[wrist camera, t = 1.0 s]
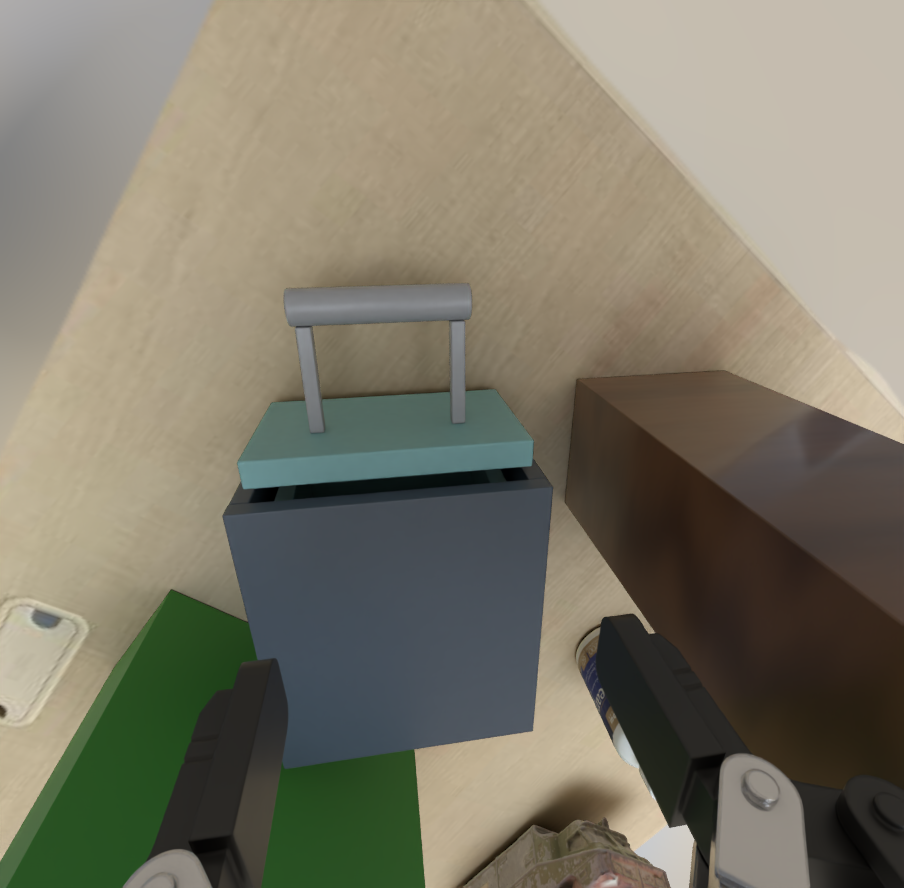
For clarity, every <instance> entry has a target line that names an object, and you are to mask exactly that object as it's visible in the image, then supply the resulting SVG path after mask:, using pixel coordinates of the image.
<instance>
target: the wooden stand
mask: <svg viewBox="0 0 904 888" xmlns="http://www.w3.org/2000/svg"><path fill="white" fill-rule="evenodd" d="M565 503H566V505H567V506H568V508H569V509H570V510H571V512H572V513H573V515H574V516H575V518H576V519H577V521H578V522H579V523H580V525H581V526H582V528H583V529H584V531H585V532H586V533H587V535H588V536H589V538H590V539H591V541H592V542H593V544H594V545H595V546H596V548H597V549H598V551H599V552H600V554H601V555H602V557H603V558H604V559H605V561H606V562H607V564H608V565H609V567H610V568H611V569H612V571H613V572H614V574H615V575H616V577H617V578H618V580H619V581H620V582H621V584H622V585H623V587H624V588H625V590H626V591H627V593H628V594H629V595H630V597H631V598H632V600H633V601H634V603H635V604H636V605H637V607H638V608H639V610H640V611H641V613H642V614H643V616H644V617H645V618H646V620H647V621H648V623H649V624H650V626H651V627H652V628H653V630H654V631H655V633H659V634H660V635H662V636H663V637H664V638H665V639H667V640H668V641H669V642H670V643H672V644H673V645H674V646H675V647H677V648H678V650H679V651H680V653H681V654H682V655H683V657H684V658H685V660H686V661H687V662H688V664H689V665H690V667H691V670H692V671H694V672H695V674H696V675H697V677H698V678H699V680H700V681H701V682H702V686H703V687H705V688H706V690H707V691H708V692H709V694H710V695H711V697H712V698H713V700H714V701H715V702H716V704H717V705H718V707H719V708H720V710H721V711H722V712H723V714H724V715H725V717H726V718H727V720H728V721H729V722H730V724H731V725H732V727H733V728H734V730H735V731H736V732H737V734H738V735H739V737H740V738H741V740H742V741H743V742H744V744H745V745H746V747H747V748H748V749H749V750H750V752H751V753H752V754H753V755H754V756H757V757H760V758H762V759H764V760H766V761H768V762H770V763H771V764H773V765H774V766H776V767H777V768H778V769H779V770H781V771H782V772H783V773H784V774H785V775H786V776H787V777H788V778H789V779H792V780H795V781H799V782H804V783H809V784H815V785H820V786H826V787H831V788H836V789H842V790H843V788H844V787H845V785H846V783H847V781H848V780H849V779H850V778H852V777H854V776H857V775H870V776H875V777H878V778H881V779H884V780H886V781H889V782H891V783H893V784H894V785H896V786H898V787H900V788H901V789H903V790H904V444H902V443H900V442H897V441H895V440H892V439H890V438H887V437H885V436H883V435H880V434H878V433H875V432H873V431H870V430H868V429H866V428H863V427H861V426H858V425H856V424H853V423H851V422H849V421H846V420H844V419H841V418H839V417H836V416H834V415H832V414H829V413H827V412H824V411H822V410H819V409H817V408H815V407H812V406H810V405H807V404H805V403H802V402H800V401H798V400H795V399H793V398H790V397H788V396H785V395H783V394H781V393H778V392H776V391H773V390H771V389H768V388H766V387H764V386H761V385H759V384H756V383H754V382H751V381H749V380H747V379H744V378H742V377H739V376H737V375H734V374H732V373H730V372H727V371H708V372H691V373H674V374H656V375H639V376H622V377H605V378H587V379H577V384H576V395H575V405H574V415H573V426H572V436H571V447H570V457H569V468H568V478H567V488H566V499H565Z"/></svg>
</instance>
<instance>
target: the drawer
mask: <svg viewBox="0 0 904 888" xmlns="http://www.w3.org/2000/svg"><path fill="white" fill-rule="evenodd" d="M284 309H285V315H286V319H287V322H288V324H289V326H291V327H296V328H295V333H296V340H297V347H298V353H299V360H300V367H301V374H302V381H303V388H304V395H305V401H288V402H272V403H271V404H270V406H269V408H268V409H267V411H266V413H265V415H264V417H263V418H262V420H261V422H260V424H259V425H258V427H257V429H256V431H255V432H254V434H253V436H252V438H251V439H250V441H249V443H248V445H247V446H246V448H245V450H244V452H243V453H242V455H241V457H240V459H239V460H238V462H237V465H238V469H239V474H240V478H241V483H242V487H243V489H256V488H268V487H279V489H278V492H277V495H276V497H275V500H274V501H284V500H296V499H307V498H319V497H331V496H343V495H355V494H367V493H378V492H390V491H402V490H414V489H426V488H437V487H449V486H461V485H473V484H485V483H496V482H507V481H506V479H505V477H504V475H503V473H502V472H501V470H500V469H503V468H515V467H527V466H532V463H533V446H534V441H533V439H532V438H531V436H530V435H529V434H528V432H527V431H526V430H525V428H524V427H523V426H522V424H521V423H520V422H519V420H518V419H517V418H516V416H515V415H514V414H513V412H512V411H511V410H510V408H509V407H508V406H507V404H506V403H505V402H504V400H503V399H502V398H501V396H500V395H499V394H498V392H497V391H496V390H495V389H491V390H474V391H465V321H464V320H468V319H470V317H471V313H472V292H471V287H470V285H469V283H447V284H414V285H381V286H348V287H315V288H286V289H285V291H284ZM445 320H449V365H450V392H440V393H423V394H407V395H390V396H373V397H356V398H339V399H322V396H321V389H320V381H319V373H318V365H317V358H316V350H315V342H314V335H313V327H312V326H321V325H346V324H371V323H396V322H421V321H445Z"/></svg>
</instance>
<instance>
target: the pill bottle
mask: <svg viewBox="0 0 904 888" xmlns="http://www.w3.org/2000/svg"><path fill="white" fill-rule="evenodd" d="M599 634H600V628H597V629H595V630H594V631H592V632H591V633H590V634H589V635H587V636H586V637H585V639H584V640H583V641H582V642H581V644H580V645H579V648H578V650H577V653H576V662H577V665H578V668H579V670H580V673H581V675H582V677H583V679H584V681H585V684H586V686H587V688H588V690H589V692H590V694H591V697H592V699H593V701H594V703H595V705H596V707H597V709H598V712H599V714H600V716H601V718H602V720H603V722H604V725H605V727H606V729H607V731H608V733H609V736H610V738H611V740H612V742H613V745H614V747H615V749H616V750H617V752H618V754H619V755H620V757H621V758H622V759H623V760H624V761H625V762H626V763H628V764H629V765H631V766H633V767H636V768H639V772H640V774H641V777H642V779H643V781H644V783H645V784H646V786H647V788H648V790H649V792H650V794H651V796H652V797H653V799H655V797H654V794H653V792H652V790H651V788H650V786H649V784H648V782H647V780H646V778H645V776H644V774H643V772H642V770H641V768H640V765H639V763H638V761H637V759H636V757H635V755H634V753H633V751H632V749H631V747H630V745H629V743H628V741H627V739H626V736H625V734H624V732H623V730H622V728H621V726H620V724H619V722H618V720H617V718H616V716H615V714H614V712H613V710H612V707H611V705H610V703H609V701H608V699H607V697H606V695H605V693H604V691H603V689H602V687H601V684H600V682H599V679H598V675H597V671H596V653H597V647H598V640H599ZM655 800H656V799H655Z"/></svg>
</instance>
